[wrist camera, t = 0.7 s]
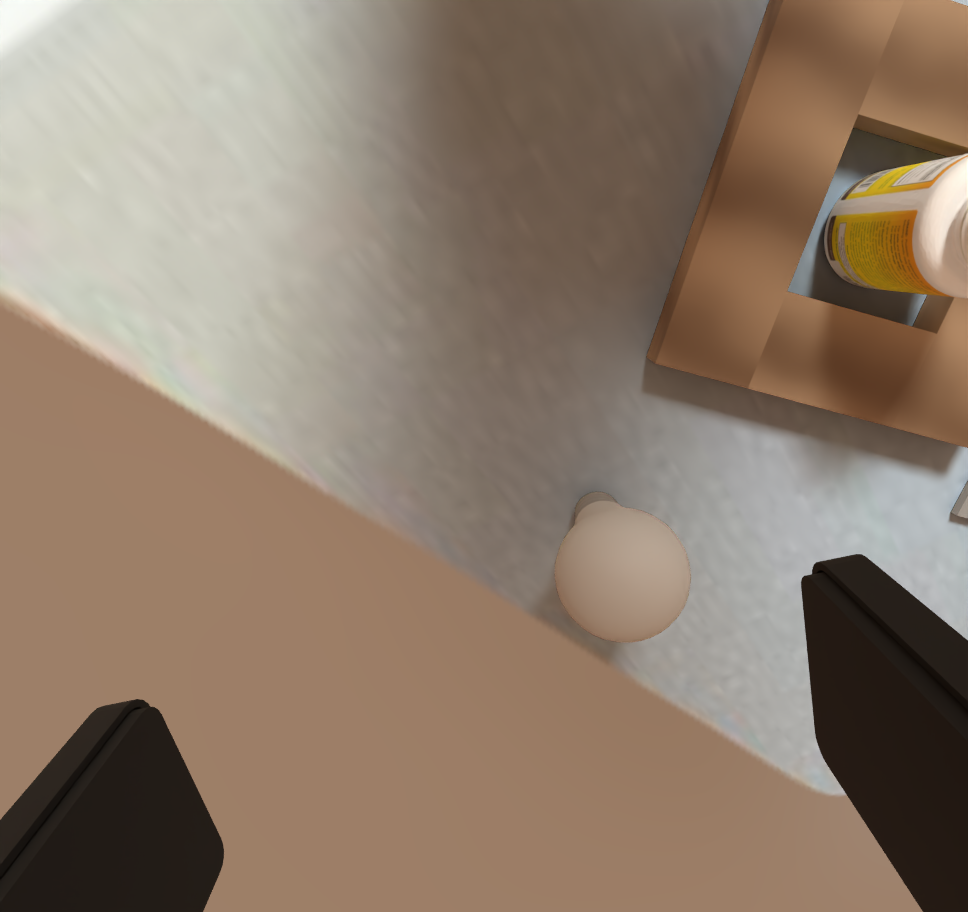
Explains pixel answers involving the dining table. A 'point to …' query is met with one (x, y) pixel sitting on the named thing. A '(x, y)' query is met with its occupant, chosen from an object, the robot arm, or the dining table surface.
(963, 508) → the grey mat
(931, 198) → the supplement bottle
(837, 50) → the wooden square frame
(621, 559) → the lightbulb
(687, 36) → the dining table surface
